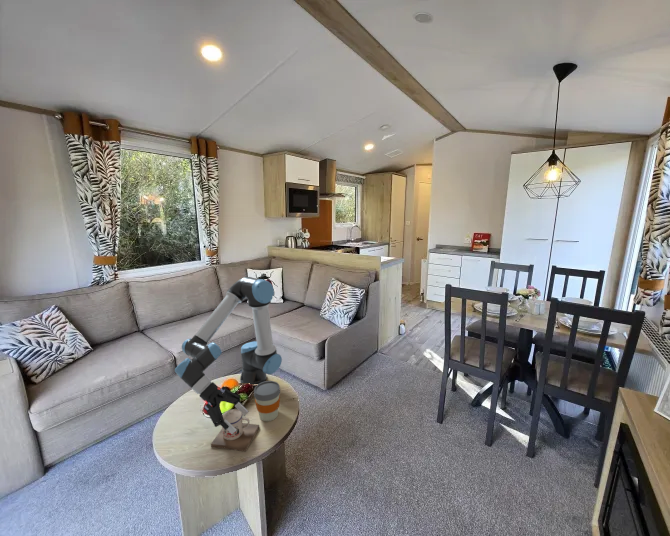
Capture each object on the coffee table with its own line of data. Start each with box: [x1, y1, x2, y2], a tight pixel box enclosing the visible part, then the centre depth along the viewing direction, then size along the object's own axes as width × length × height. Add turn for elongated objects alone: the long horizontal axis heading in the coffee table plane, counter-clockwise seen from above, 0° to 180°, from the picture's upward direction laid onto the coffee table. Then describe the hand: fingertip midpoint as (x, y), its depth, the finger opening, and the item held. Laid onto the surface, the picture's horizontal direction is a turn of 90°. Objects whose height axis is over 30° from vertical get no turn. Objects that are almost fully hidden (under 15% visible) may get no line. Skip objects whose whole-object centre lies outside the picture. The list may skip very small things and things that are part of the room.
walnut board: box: [210, 422, 260, 452], centre depth 134 cm, size 14×16×2 cm
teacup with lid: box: [221, 408, 250, 440], centre depth 133 cm, size 12×9×12 cm
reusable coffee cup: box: [253, 380, 281, 422], centre depth 146 cm, size 12×13×15 cm
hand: (240, 422), depth 132 cm, fingers open, 11 cm apart
